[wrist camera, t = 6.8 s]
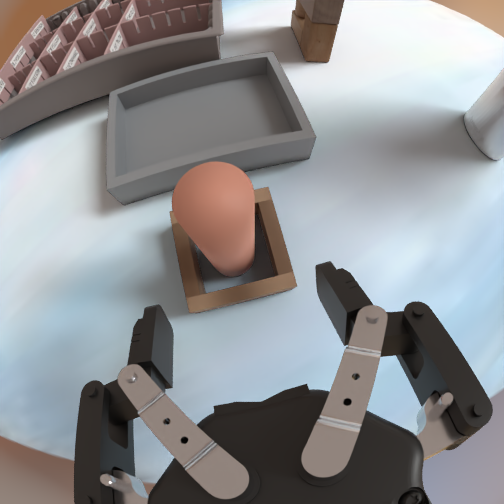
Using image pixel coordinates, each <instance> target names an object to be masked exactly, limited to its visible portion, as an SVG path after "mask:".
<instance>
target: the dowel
mask: <svg viewBox="0 0 504 504" xmlns="http://www.w3.org/2000/svg"><path fill="white" fill-rule="evenodd" d="M172 209H173V213H174V216H175V218H176V220H177V221H178V223H179V224H180V225H181V227H182V228H183V229H184V230H185V232H186V233H187V234H188V235H189V237H190V238H191V239H192V240H193V241H194V243H195V244H196V245H197V246H198V248H199V249H200V250H201V251H202V253H203V254H204V255H205V256H206V257H207V259H208V260H209V261H210V262H211V264H212V265H213V266H214V267H215V268H216V270H217V271H218V272H220V273H221V274H223V275H226V276H230V277H235V276H239V275H242V274H244V273H245V272H247V271H248V270H249V269H250V268H251V266H252V264H253V262H254V258H255V196H254V189H253V185H252V183H251V181H250V179H249V178H248V176H247V175H246V174H245V173H244V172H243V171H242V170H241V169H239V168H238V167H236V166H234V165H232V164H229V163H225V162H207V163H203V164H200V165H198V166H195V167H194V168H192V169H190V170H189V171H188V172H186V173H185V174H184V175H183V176H182V177H181V179H180V180H179V181H178V183H177V185H176V187H175V189H174V192H173V196H172Z"/></svg>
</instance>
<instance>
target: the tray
mask: <svg viewBox="0 0 504 504" xmlns="http://www.w3.org/2000/svg"><path fill="white" fill-rule="evenodd" d="M315 139H316V135H315V133H314V131H313V129H312V127H311V124H310V122H309V120H308V118H307V116H306V114H305V112H304V110H303V108H302V106H301V104H300V102H299V99H298V97H297V95H296V94H295V92H294V90H293V88H292V86H291V84H290V82H289V80H288V78H287V76H286V74H285V72H284V71H283V69H282V67H281V65H280V63H279V61H278V60H277V58H276V56H275V54H274V53H273V52H264V53H256V54H249V55H242V56H236V57H230V58H225V59H220V60H215V61H210V62H205V63H201V64H197V65H192V66H188V67H185V68H181V69H177V70H173V71H170V72H166V73H163V74H160V75H157V76H153V77H150V78H147V79H144V80H141V81H138V82H136V83H133V84H130V85H127V86H125V87H122V88H119V89H117V90H114V91H112V92H110V96H109V107H108V122H107V147H106V181H107V191H109V192H110V193H111V194H112V195H113V196H114V197H115V198H116V199H117V200H118V201H119V202H121V203H122V204H123V205H126V204H129V203H132V202H135V201H139V200H142V199H145V198H148V197H151V196H155V195H158V194H162V193H165V192H168V191H172V190H174V189H175V187H176V185H177V183H178V181H179V180H180V179H181V177H182V176H183V175H184V174H185V173H186V172H188V171H189V170H190V169H192V168H194V167H195V166H198V165H200V164H203V163H207V162H225V163H229V164H232V165H234V166H236V167H238V168H239V169H241V170H242V171H243V172H246V171H250V170H255V169H259V168H264V167H269V166H274V165H279V164H284V163H289V162H294V161H299V160H305V159H309V158H310V155H311V152H312V149H313V146H314V142H315Z"/></svg>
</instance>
